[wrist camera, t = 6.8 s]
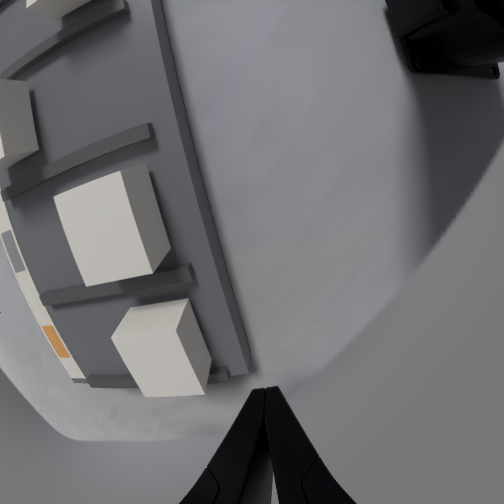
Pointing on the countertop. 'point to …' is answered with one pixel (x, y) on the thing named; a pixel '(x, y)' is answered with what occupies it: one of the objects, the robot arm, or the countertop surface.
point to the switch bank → (99, 165)
